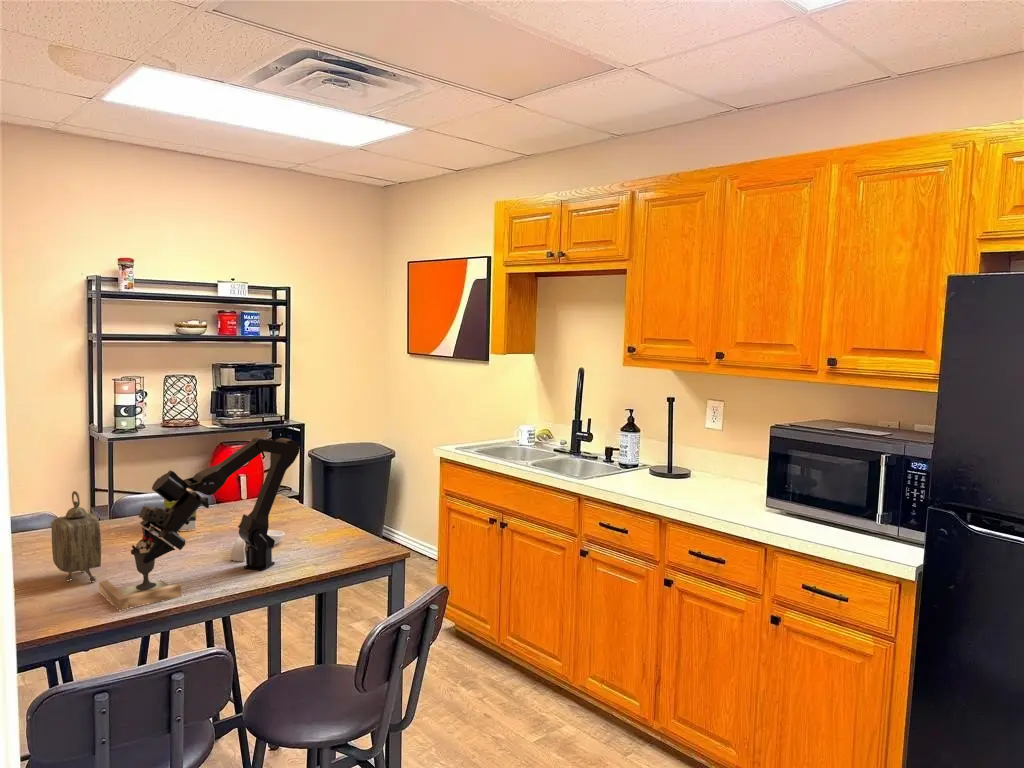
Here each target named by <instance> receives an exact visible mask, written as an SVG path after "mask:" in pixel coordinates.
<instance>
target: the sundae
mask: <svg viewBox="0 0 1024 768" xmlns="http://www.w3.org/2000/svg"><path fill="white" fill-rule="evenodd" d="M151 531H152V530H149V532H150V533H151ZM148 534H149V533H148ZM148 534H147V535H148ZM152 541H153V539H152V538H151V537H150V538H149V539H147V537H143V536H142V539H140V540H138V541H137V543H136V545H134V544H132V545H131V547H132V549H131V550H130V554H131V555H133V557H134V561H135V567H136V570H137V572H139V574H142V575H143V578H142V579H143V581H142V583H139V584H136V585H137V586H136V589H138V590H146V589H151V588H154V587H155V586H156V583H152V582H153V581H150V580H149V574H150V573H151V572H152V571H153V570H154V567H155V562H156V559H154V560H152V561H150V562H149V563H147V564H145V563H143V560H144V558H145V556H146V555H147V554H148V552H149V551H150V549H151V548H152V546H153V545H154V543H153V542H152Z"/></svg>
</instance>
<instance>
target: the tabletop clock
mask: <svg viewBox="0 0 1024 768" xmlns="http://www.w3.org/2000/svg"><path fill="white" fill-rule="evenodd" d="M75 496H76V499H77V500H76V501H75ZM71 501H72V504H73V507H72V508H69V509H68V510H67V512H66V514H65V515H64V516H59V517H57V518H56V519H54V520H53V521H51V549H52V550H51V551H52V560H53V563H54V565H55V566H56V567H57V569H59V571H61V572H66V573H68V575H67V576H66V577H65V581H66V580H70V579H72V580H73V576H72V573H74V572H80V571H85V572H84V573H86V575H88V577H89V582H90V581H91V582H90V583H93V582H92V581H95V582H96V581H97V577H96V576H94V575H92V573H91V571H90V569H91V570H92V569H94V568H99V567H101V564H102V540H101V539H102V538H101V525H100V521H99V519H98V518H97V517H96V516H95V515H94V514H93V513H92V512H87V511H86V509H85V508H83V507H80V503H81V502H80V495H79V493H78V491H77V490H76V491H75V490H74V491H72V494H71Z"/></svg>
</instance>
